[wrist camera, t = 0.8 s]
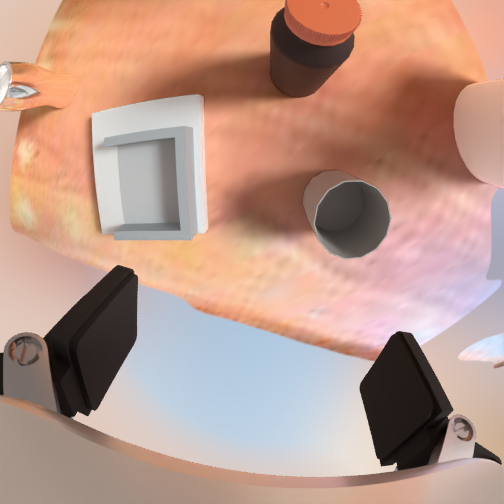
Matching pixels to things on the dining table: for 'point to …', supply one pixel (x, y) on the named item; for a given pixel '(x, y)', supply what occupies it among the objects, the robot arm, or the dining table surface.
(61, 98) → the beer glass
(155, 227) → the dock
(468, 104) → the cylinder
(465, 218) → the dining table surface
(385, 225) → the cup
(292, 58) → the bottle
